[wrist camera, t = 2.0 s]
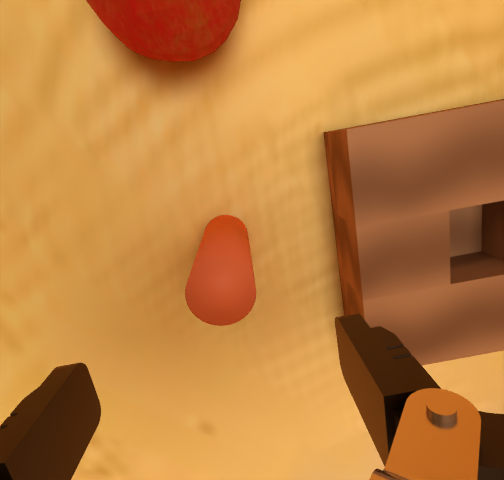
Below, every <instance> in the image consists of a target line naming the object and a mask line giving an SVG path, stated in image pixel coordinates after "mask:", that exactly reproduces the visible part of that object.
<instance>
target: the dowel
mask: <svg viewBox="0 0 504 480" xmlns="http://www.w3.org/2000/svg"><path fill="white" fill-rule="evenodd" d="M185 296H186V301H187V304H188V306H189V308H190V310H191V311H192V313H193V314H194V315H195V316H196V317H197V318H199V319H200V320H202V321H204V322H206V323H208V324H212V325H219V326H223V325H230V324H233V323H236V322H238V321H240V320H241V319H243V318H244V317H245V316H246V315H247V314H248V313H249V312H250V311H251V309H252V307H253V305H254V302H255V298H256V288H255V281H254V274H253V267H252V260H251V253H250V246H249V239H248V232H247V229H246V227H245V225H244V224H243V222H242V221H241V220H239V219H238V218H236V217H234V216H230V215H222V216H218V217H216V218H214V219H213V220H211V221H210V222H209V224H208V225H207V227H206V229H205V232H204V235H203V238H202V241H201V244H200V247H199V250H198V253H197V255H196V258H195V261H194V264H193V267H192V270H191V273H190V276H189V279H188V282H187V285H186V290H185Z"/></svg>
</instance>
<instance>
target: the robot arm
mask: <svg viewBox="0 0 504 480" xmlns="http://www.w3.org/2000/svg"><path fill="white" fill-rule="evenodd" d="M335 327H336V335H337V343H338V351H339V359H340V365H341V369H342V373H343V376H344V379H345V382H346V384H347V386H348V388H349V390H350V392H351V395H352V397H353V399H354V401H355V403H356V405H357V408H358V410H359V412H360V414H361V416H362V418H363V421H364V423H365V425H366V427H367V429H368V431H369V434H370V436H371V438H372V440H373V442H374V444H375V447H376V449H377V451H378V453H379V455H380V457H381V460H382V462H383V464H384V466H385V468H384V470H383V471H382V470H380V469H375V470H374V472H373V473H372V475H371V477H370V480H504V414H494V413H486V412H481V411H478V410H477V409H476V408H475V406H474V405H473V404H472V403H471V402H469V401H468V400H467V399H465V398H464V397H462V396H460V395H458V394H456V393H454V392H451V391H448V390H444V389H441V388H440V387H439V386H438V385H437V383H436V382H435V381H434V380H433V379H432V377H431V376H430V375H429V374H428V373H427V371H426V370H425V369H424V368H423V367H422V366H421V364H420V363H419V362H418V361H417V360H416V358H415V357H414V356H412V355H411V353H410V351H409V350H408V349H407V348H406V347H404V344H403V343H402V342H401V341H400V340H399V338H398V337H397V336H396V335H395V334H394V333H392V332H390V331H389V330H387V329H385V328H383V327H381V326H378V327H373V328H370V327H369V325H368V324H367V323H366V321H365V320H364V318H363V317H362V316H361V315H360V314H359V313H358V314H352V315H347V316H341V317H336V318H335ZM100 416H101V406H100V402H99V399H98V396H97V393H96V390H95V388H94V385H93V382H92V379H91V376H90V374H89V371H88V368H87V366H86V365H85V364H84V363H76V364H70V365H65V366H59V367H56V368H55V369H54V370H53V371H52V372H51V373H50V375H49V376H48V377H47V378H46V379H45V381H44V382H43V383H42V384H41V385H40V387H38V388H37V389H36V390H34V391H33V392H32V393H31V394H29V395H28V396H27V397H25V398H24V399H23V400H22V401H21V402H20V403H19V405H18V406H17V407H16V408H15V409H14V410H13V412H12V413H11V416H10V417H7V419H6V420H5V421H4V422H3V423H2V425H1V426H0V480H71V478H72V476H73V474H74V472H75V470H76V468H77V466H78V464H79V462H80V460H81V458H82V456H83V454H84V452H85V450H86V448H87V446H88V444H89V442H90V440H91V438H92V436H93V434H94V432H95V430H96V428H97V426H98V424H99V421H100Z"/></svg>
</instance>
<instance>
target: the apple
mask: <svg viewBox="0 0 504 480" xmlns="http://www.w3.org/2000/svg"><path fill="white" fill-rule="evenodd" d="M86 1H87V2H88V4H89V5H90V6H91V7H92V9H93V10H94V11H95V13H96V14H97V15H98V17H99V18H100V19H101V21H102V22H103V23H104V24H105V25H106V26H107V27H108V28H109V29H110V31H111V32H112V33H113V34H114V35H115V36H116V37H117V38H118V39H119V40H120V41H122V42H123V43H124V44H125V45H126V46H127V47H128V48H130V49H131V50H133V51H134V52H136V53H138V54H141V55H143V56H146V57H149V58H152V59H156V60H164V61H195V60H197V59H199V58H201V57H203V56H205V55H207V54H210V53H212V52H214V51H215V50H216V49H217V48H218V47H219V46H220V45H222V44H223V43H224V42H225V41H226V39H227V38H228V36H229V34H230V32H231V30H232V29H233V27H234V25H235V23H236V21H237V19H238V14H239V8H240V2H241V0H86Z"/></svg>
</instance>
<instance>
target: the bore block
mask: <svg viewBox="0 0 504 480" xmlns="http://www.w3.org/2000/svg"><path fill="white" fill-rule="evenodd" d="M324 139H325V148H326V157H327V166H328V175H329V183H330V192H331V201H332V210H333V219H334V227H335V236H336V245H337V254H338V263H339V272H340V280H341V289H342V298H343V307H344V316H347V315H352V314H358V313H359V314H360V315H361V316H362V317H363V318H364V320H365V321H366V323H367V324H368V325H369V327H370V328H373V327H378V326H381V327H383V328H385V329H387V330H389V331H390V332H392V333H394V334H395V335H396V336H397V337H398V338H399V340H400V341H401V342H402V343H403V344H404V347H406V348H407V349H408V350H409V351H410V353H411V355H412V356H414V357H415V358H416V360H417V361H418V362H419V363H420V364H421V365H426V364H432V363H437V362H443V361H448V360H454V359H459V358H464V357H470V356H475V355H481V354H486V353H492V352H497V351H503V350H504V99H502V100H496V101H491V102H485V103H480V104H475V105H469V106H464V107H458V108H453V109H448V110H442V111H437V112H431V113H426V114H421V115H415V116H410V117H404V118H399V119H394V120H388V121H383V122H377V123H372V124H367V125H361V126H356V127H350V128H345V129H340V130H334V131H329V132H324Z"/></svg>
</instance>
